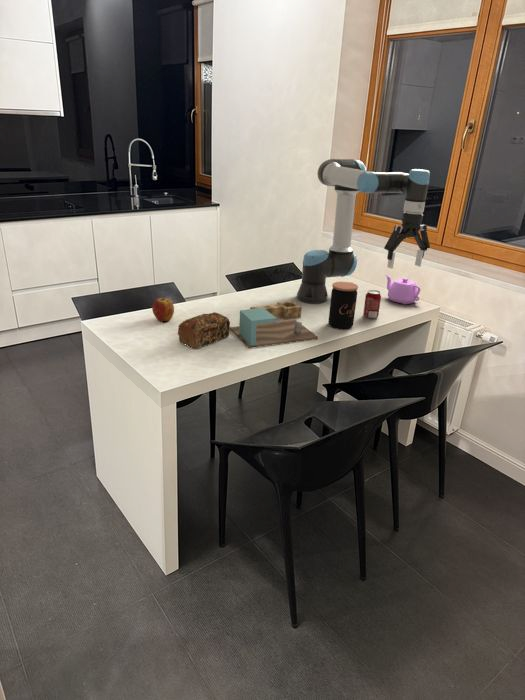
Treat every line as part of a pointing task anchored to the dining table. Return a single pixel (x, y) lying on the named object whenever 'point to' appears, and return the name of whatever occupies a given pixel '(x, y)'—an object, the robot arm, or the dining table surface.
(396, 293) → the teapot
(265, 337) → the pintle board
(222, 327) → the bread
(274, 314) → the wooden square socket bar
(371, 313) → the soda can
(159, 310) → the apple
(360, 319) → the dining table surface
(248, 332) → the block
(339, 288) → the coffee jar
